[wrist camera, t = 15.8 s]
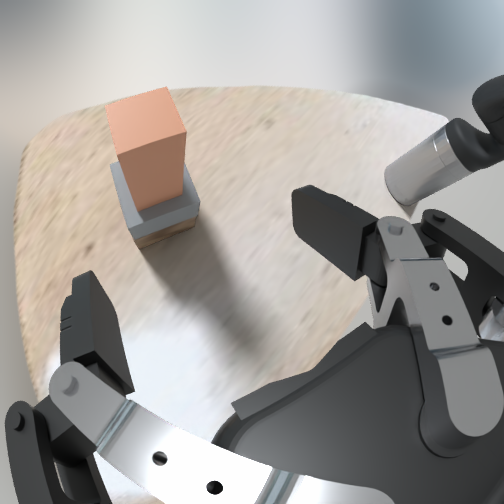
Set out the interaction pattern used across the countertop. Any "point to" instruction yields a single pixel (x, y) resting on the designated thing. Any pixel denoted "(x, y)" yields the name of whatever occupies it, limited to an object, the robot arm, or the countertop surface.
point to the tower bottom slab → (164, 233)
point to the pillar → (149, 146)
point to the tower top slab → (155, 206)
